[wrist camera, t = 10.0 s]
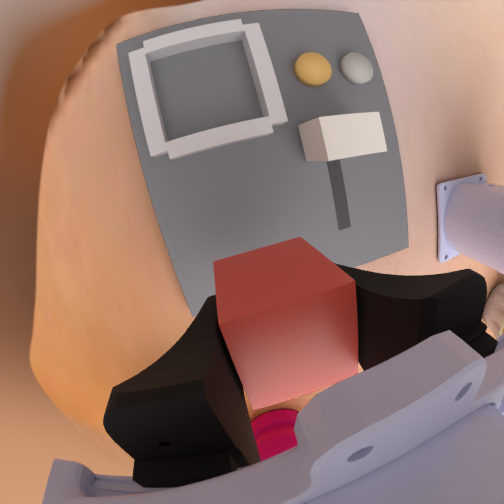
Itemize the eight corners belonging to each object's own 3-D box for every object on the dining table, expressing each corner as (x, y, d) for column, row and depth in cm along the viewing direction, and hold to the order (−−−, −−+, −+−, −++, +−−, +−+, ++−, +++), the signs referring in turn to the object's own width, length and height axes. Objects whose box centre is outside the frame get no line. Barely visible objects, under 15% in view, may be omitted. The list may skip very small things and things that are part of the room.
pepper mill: (307, 431, 27) (362, 562, 9) (249, 445, 27) (284, 585, 8) (305, 398, 25) (378, 560, 6) (237, 414, 24) (277, 590, 6)
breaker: (351, 118, 16) (379, 111, 13) (358, 151, 17) (387, 151, 14) (297, 125, 16) (318, 117, 12) (306, 161, 16) (328, 161, 13)
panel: (351, 18, 14) (367, 6, 12) (400, 243, 21) (419, 252, 19) (121, 50, 13) (109, 35, 11) (193, 308, 20) (192, 328, 17)
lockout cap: (300, 236, 12) (355, 280, 7) (313, 310, 13) (358, 373, 9) (213, 261, 12) (218, 324, 7) (237, 334, 13) (253, 410, 8)
